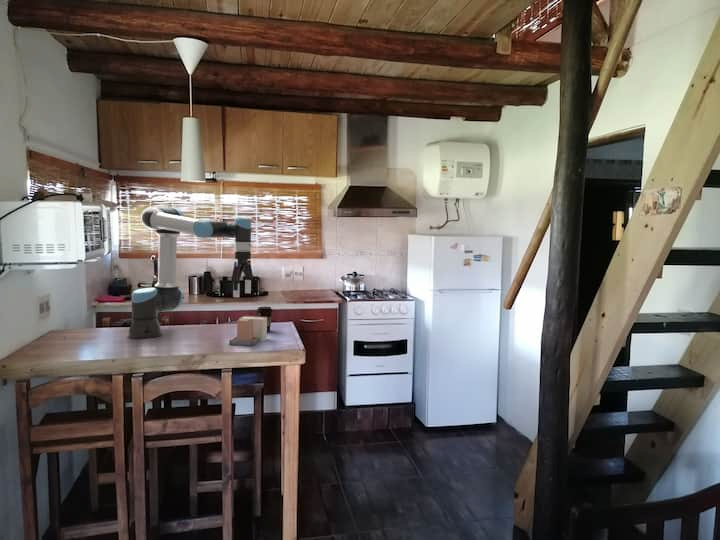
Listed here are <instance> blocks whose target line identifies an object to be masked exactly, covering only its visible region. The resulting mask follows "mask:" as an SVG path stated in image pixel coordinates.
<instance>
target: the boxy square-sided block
mask: <svg viewBox="0 0 720 540" xmlns="http://www.w3.org/2000/svg"><path fill="white" fill-rule="evenodd" d="M239 319H253V337H259V342H260V343H261V342H265V341H266V340H267V339H268V332H267V317H257V315H256V316H253V315H243V316H240V317H239ZM239 319H238V320H239Z"/></svg>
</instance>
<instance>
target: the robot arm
mask: <svg viewBox="0 0 720 540" xmlns="http://www.w3.org/2000/svg"><path fill="white" fill-rule="evenodd" d="M140 220H141V223H142V225H143V226H144V227H145V228H146V229H148V230H149V229H150V230H154V231H155V234H156V235H157V236H158V267H157V268H158V270H157V273H158V274H157V283H156V284H154V287H142V288H138V289H136V290H134V291H133V292H132V293H131V301H130V302H131V319H132V320H131V323H130V327H129V330H128V332H127V333H128V337H129V338H131V339H150V338H157V337H160V336H161V335H162V328H161V326H160V322H159V320H158V313H162V312H168V311H169V312H170V311H174V310H176V309H178V308H179V307H181V305H182V304H183V302H184V293H183V292H182V291H183V290H182V289H180V285H179V284H178V283H177V282H176V281H177V277H176V276H177V249H178V248H177V247H178V245H177V243H178V242H177V241H178V236H180V235H181V233H183V234H188V235H193V236H196V237H198V238H200V239H201V238H202V239H207V238H208V239H209V238H213V239H214V238H217V239H218V238H224V239H225V238H233V239H234V259H235V260H237V261H234V263H233V265H234V266H233V271H232V276H231V281H230V283H231V284H233V286H232V287H233V291H232V297H233V298H240V290H241V289H240V287H241V286H240V280H241V276H242V273H243V275H244V277H245V280H244V293H245V294H251V292H252V288H251V287H252V281H253V280H254V275H253V268H252V264H251V263H252V262H251V259H252V252H251V250H252V246H253V245H252V220H251V219H250V218H247V217H246V218H244V217H243V218H242V217H237V218H235V219H234V221H211V220H209V221H208V220H203V219H197V218H193V217H186V216H185V215H184V212H182V210H181V209H179V208H176V207H172V206H169V207H167V206H148V207H146V208H145V209H144V210H143V211H142V213H141V216H140Z"/></svg>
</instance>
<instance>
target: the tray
mask: <svg viewBox="0 0 720 540" xmlns="http://www.w3.org/2000/svg"><path fill="white" fill-rule="evenodd" d="M259 342H260V341H259V337H253V341H238V340H237V336H235V337H232V338H231V339H229V345H230V346H240V347H241V346H242V347H253V346H255V345H256V344H258V343H259Z"/></svg>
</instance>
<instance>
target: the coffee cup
mask: <svg viewBox="0 0 720 540" xmlns="http://www.w3.org/2000/svg"><path fill="white" fill-rule="evenodd" d="M272 312H274V311H273V309H272V307H271V306H259V307H257V309H256V317H267V333H269V332H271V325H272V319H273V318H272V317H273V314H272Z"/></svg>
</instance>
